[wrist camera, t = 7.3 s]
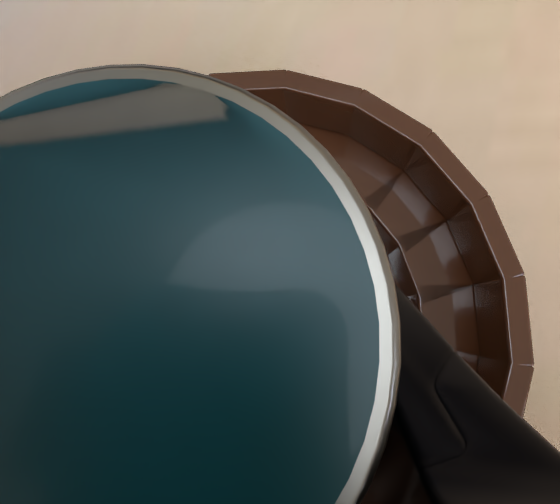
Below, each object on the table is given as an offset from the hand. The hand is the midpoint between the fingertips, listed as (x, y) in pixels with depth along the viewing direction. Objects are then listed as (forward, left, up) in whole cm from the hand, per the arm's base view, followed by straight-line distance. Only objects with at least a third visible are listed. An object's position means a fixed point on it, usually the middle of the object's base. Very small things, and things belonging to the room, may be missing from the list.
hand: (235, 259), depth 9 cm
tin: (-1, -1, -6) cm, 6 cm away
